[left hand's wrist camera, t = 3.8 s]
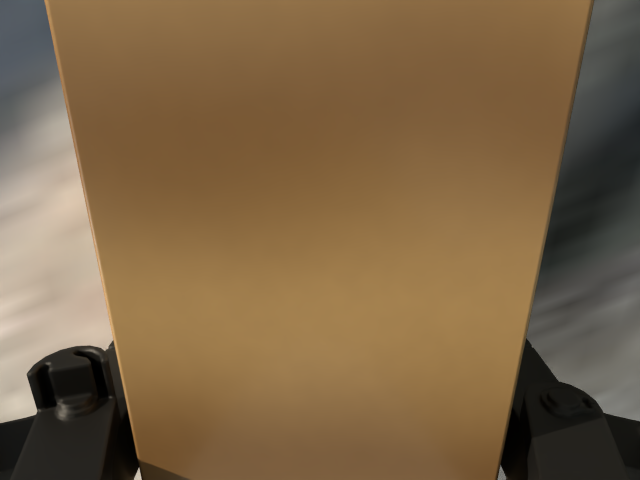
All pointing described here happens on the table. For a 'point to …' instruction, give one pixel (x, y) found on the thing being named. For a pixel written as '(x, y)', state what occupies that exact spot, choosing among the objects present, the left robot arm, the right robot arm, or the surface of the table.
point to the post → (319, 222)
